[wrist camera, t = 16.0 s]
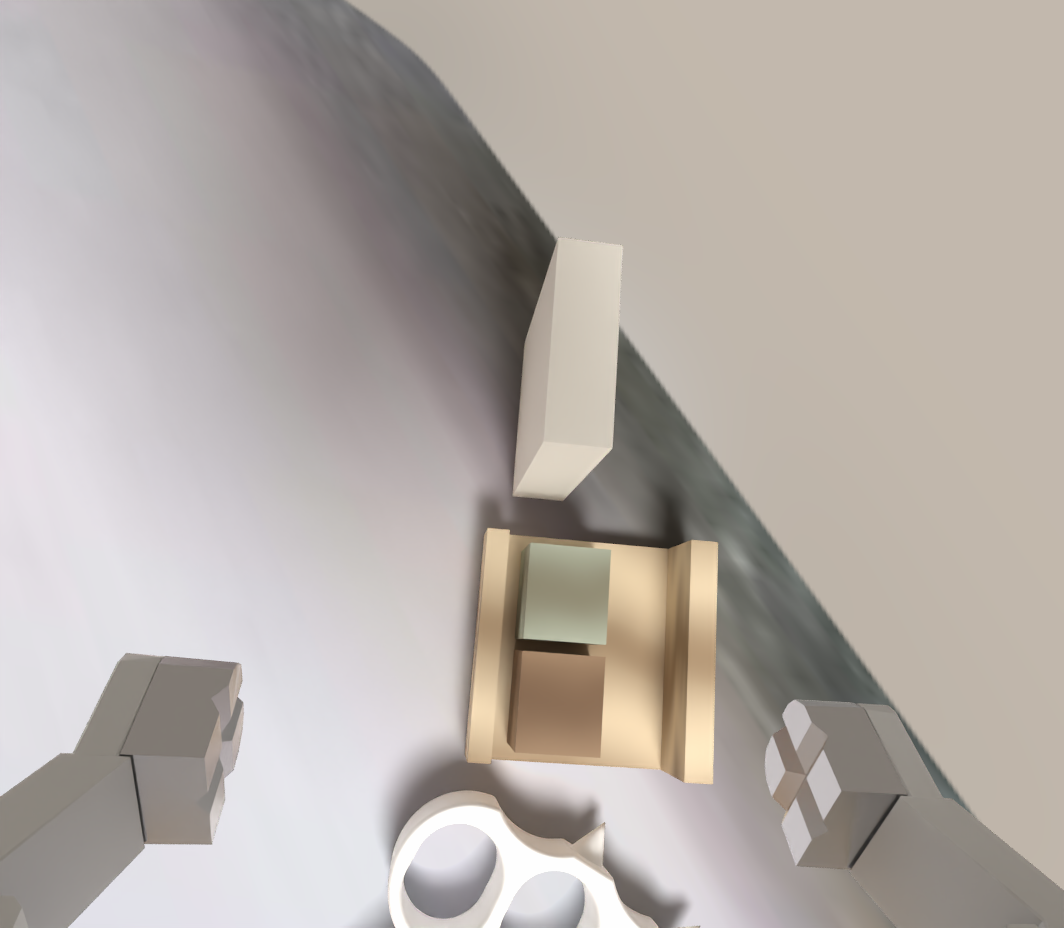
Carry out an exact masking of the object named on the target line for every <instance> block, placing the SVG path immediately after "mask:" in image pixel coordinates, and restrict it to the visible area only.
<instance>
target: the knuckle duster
mask: <svg viewBox="0 0 1064 928" xmlns="http://www.w3.org/2000/svg"><path fill="white" fill-rule="evenodd" d="M457 823H462V824H469V825H472V826H475V827H477V828H479V829H481V830H482V831H484V832H485V833H486V834H487V835H488V836H489V837H490V838H491V839H492V840H493V841H494V843H495V845H496V850H497V858H496V864H495V868H494V871H493V874H492V876H491V878H490V880H489V882H488V884H487V886H486V888H485V890H484V891H483V893H482V895H481V897H480V898H479V900H478V901H477V902H476V904H475V905H474V906H473V907H472V908H470V909H469V910H468V911H466V912H465V913H463V914H461V915H459V916H456V917H453V918H446V919H441V918H434V917H431V916H428V915H426V914H424V913H423V912H421V911H420V910H419V909H417V908H416V907H415V906H414V904H413V903H412V902H411V900H410V899H409V897H408V895H407V893H406V890H405V886H404V880H403V879H404V876H405V873H406V871H407V869H408V867H409V865H410V863H411V861H412V859H413V857H414V856H415V854H416V852H417V850H418V848H419V847H420V845H421V844H422V842H423V841H424V840H425V839H426V838H427V837H428V836H429V835H430V834H431V833H432V832H434V831H435V830H437V829H439V828H441V827H443V826H446V825H450V824H457ZM604 831H605V822H604V823H603V824H601V825H600V826H598V827H597V828H595V829H594V830H593V831H591V832H590V833H588V834H587V835H585V836H584V837H582V838H581V839H579V840H578V841H576V842H575V843H573V844H571V843H570V842H568V841H566V840H565V839H563V838H557V839H550V838H542V837H538V836H535V835H532V834H529V833H527V832H525V831H524V830H522V829H520V828H519V827H518V826H516V825H515V824H514V823H513V822H512V821H511V820H510V819H509V818H508V817H507V816H506V815H505V813H504V812H503V811H502V809H501V808H500V806H499V804H498V802H497V800H496V798H495V796H492V795H490V794H487V793H483V792H479V791H470V790H463V791H455V792H450V793H447V794H444V795H441V796H439V797H436V798H434V799H433V800H431V801H429V802H428V803H426V804H425V805H423V806H422V807H421V808H420V809H419V810H417V811H416V812H415V813H414V814H413V816H412V817H411V818H410V819H409V820H408V822H407V823H406V824H405V826H404V827H403V829H402V831H401V833H400V835H399V837H398V839H397V841H396V844H395V847H394V850H393V854H392V859H391V866H390V872H389V879H388V904H389V910H390V914H391V918H392V921H393V924H394V926H395V928H500V926H501V922H502V920H503V917H504V915H505V913H506V911H507V909H508V907H509V905H510V903H511V901H512V899H513V897H514V895H515V894H516V892H517V891H518V889H519V888H520V887H521V886H522V885H523V884H524V883H525V882H526V881H527V880H528V879H530V878H531V877H533V876H534V875H536V874H539V873H542V872H545V871H553V870H556V871H563V872H567V873H570V874H572V875H574V876H575V877H577V878H578V879H580V880H581V881H582V884H583V887H584V893H585V904H584V910H583V914H582V917H581V919H580V921H579V923H578V925H577V928H659V927H658V925H657V924H656V923H655V922H654V921H653V919H652V918H651V917H649V916H646V915H643V914H640V913H638V912H636V911H634V910H632V909H631V908H629V907H628V906H626V905H625V904H624V903H623V902H622V901H621V899H620V897H619V895H618V892H617V889H616V886H615V882H614V879H613V877H612V876H611V875H610V874H609V872H608V871H607V870H606V869H605V867H604V866H603V850H604ZM678 928H700V926H691V927H678Z"/></svg>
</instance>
